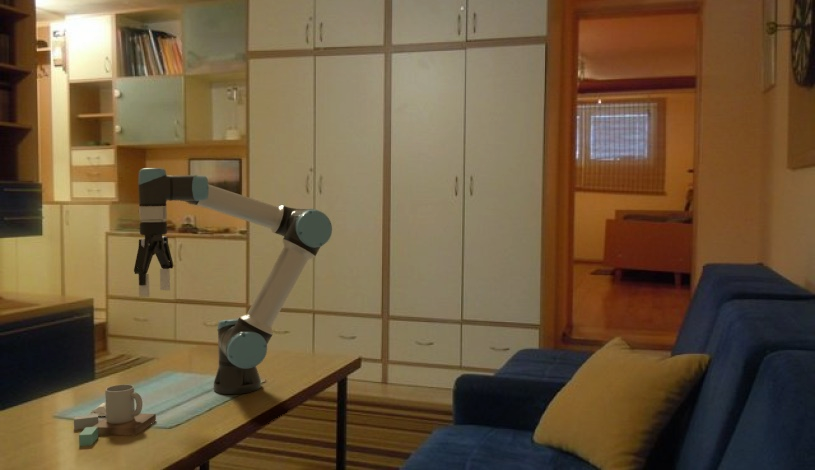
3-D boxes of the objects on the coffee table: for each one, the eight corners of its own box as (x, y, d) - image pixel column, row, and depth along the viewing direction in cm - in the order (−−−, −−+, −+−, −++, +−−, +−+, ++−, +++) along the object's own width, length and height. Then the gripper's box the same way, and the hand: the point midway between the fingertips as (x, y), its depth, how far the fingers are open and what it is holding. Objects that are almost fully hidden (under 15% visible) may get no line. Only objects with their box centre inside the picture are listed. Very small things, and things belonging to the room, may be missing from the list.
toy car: (94, 412, 203) (93, 397, 203) (135, 410, 204) (135, 396, 204) (86, 418, 197) (85, 403, 197) (129, 417, 198) (129, 402, 198)
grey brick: (98, 424, 192) (98, 413, 192) (98, 427, 189) (98, 416, 189) (74, 427, 189) (74, 416, 189) (74, 430, 186) (73, 419, 186)
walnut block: (155, 420, 194) (155, 413, 193) (135, 435, 182) (135, 428, 182) (115, 419, 195) (114, 412, 194) (92, 434, 183) (91, 427, 183)
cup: (115, 415, 192) (114, 384, 192) (149, 416, 191) (148, 385, 190) (100, 423, 185) (99, 391, 185) (135, 425, 184) (134, 392, 183)
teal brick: (86, 438, 180) (85, 427, 180) (98, 437, 181) (97, 426, 181) (79, 446, 174) (78, 435, 174) (91, 445, 175) (91, 434, 175)
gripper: (159, 219, 214) (161, 287, 215) (119, 222, 189) (121, 299, 190) (183, 219, 213) (184, 287, 214) (145, 222, 188) (147, 299, 189)
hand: (155, 293), depth 202 cm, fingers open, 13 cm apart
